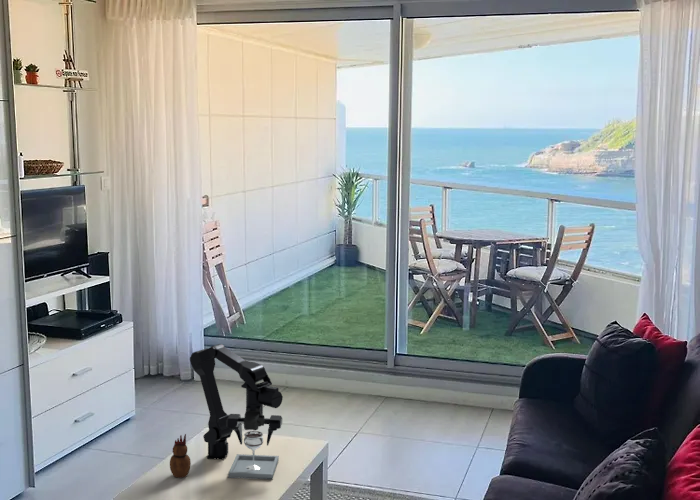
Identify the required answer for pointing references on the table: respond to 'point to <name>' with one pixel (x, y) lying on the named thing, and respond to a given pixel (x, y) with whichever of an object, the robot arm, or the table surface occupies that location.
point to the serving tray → (264, 461)
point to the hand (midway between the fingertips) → (254, 444)
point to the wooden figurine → (180, 459)
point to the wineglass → (253, 445)
